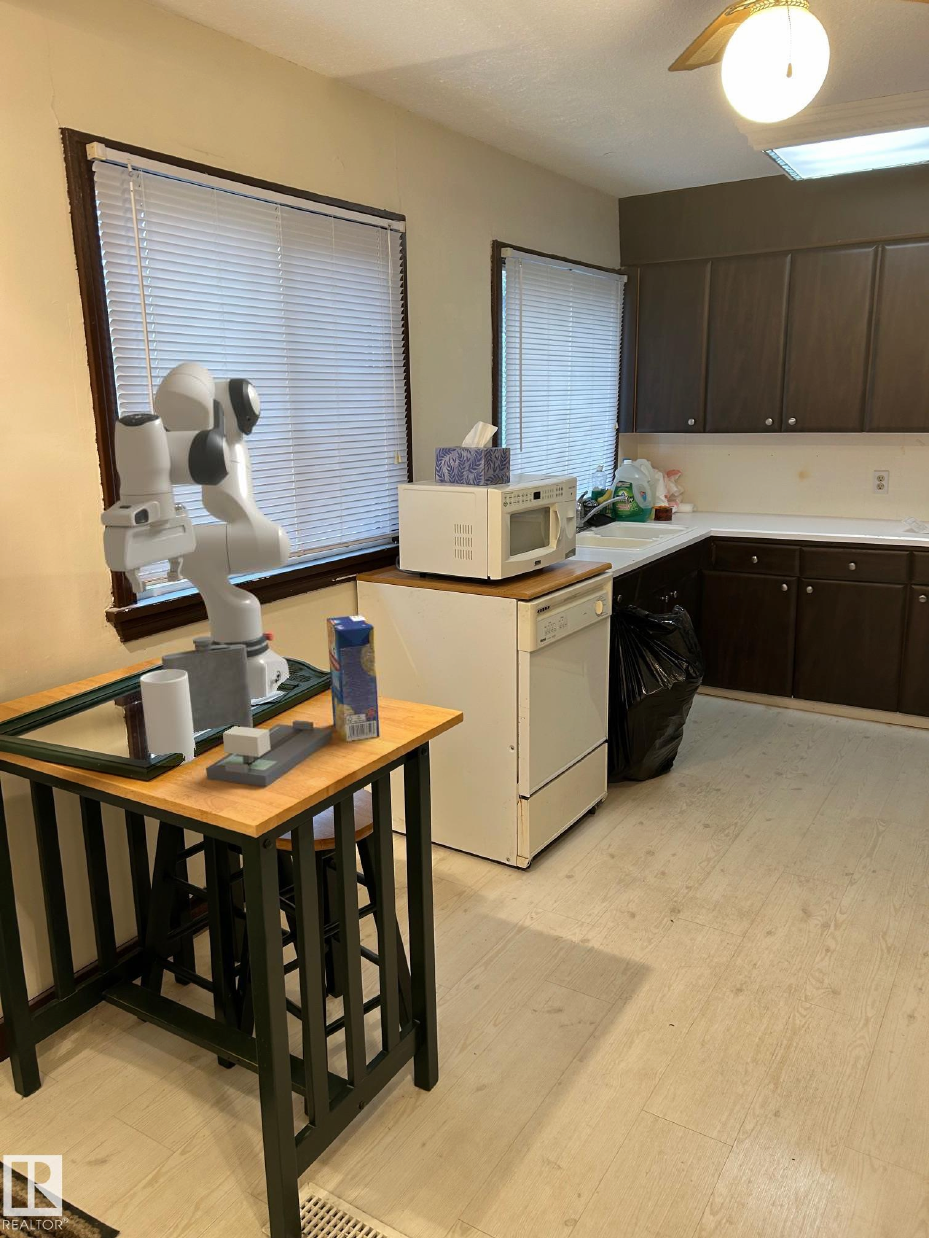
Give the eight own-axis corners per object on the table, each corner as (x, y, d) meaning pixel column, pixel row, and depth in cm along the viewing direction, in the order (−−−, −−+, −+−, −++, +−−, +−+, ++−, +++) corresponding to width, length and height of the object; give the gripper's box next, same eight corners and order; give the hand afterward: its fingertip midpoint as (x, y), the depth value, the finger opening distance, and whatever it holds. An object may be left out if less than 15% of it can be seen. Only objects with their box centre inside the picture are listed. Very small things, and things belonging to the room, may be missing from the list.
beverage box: (366, 719, 183) (360, 614, 178) (379, 736, 173) (373, 626, 168) (333, 723, 181) (326, 618, 176) (344, 742, 171) (337, 630, 166)
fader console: (278, 733, 176) (277, 718, 176) (332, 739, 172) (331, 724, 171) (207, 778, 156) (205, 761, 155) (266, 786, 151) (264, 769, 151)
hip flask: (173, 747, 171) (161, 646, 166) (169, 741, 174) (157, 642, 170) (255, 731, 178) (246, 634, 173) (249, 725, 181) (241, 630, 177)
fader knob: (237, 755, 159) (234, 726, 158) (271, 759, 157) (268, 729, 156) (225, 762, 156) (222, 732, 155) (259, 767, 154) (257, 737, 152)
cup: (179, 746, 171) (170, 666, 167) (205, 756, 166) (196, 673, 162) (140, 760, 165) (130, 677, 161) (165, 770, 160) (156, 685, 156)
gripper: (171, 501, 167) (179, 574, 170) (92, 516, 148) (103, 598, 151) (200, 502, 164) (207, 575, 168) (123, 517, 146) (133, 600, 149)
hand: (157, 586), depth 160 cm, fingers open, 8 cm apart
